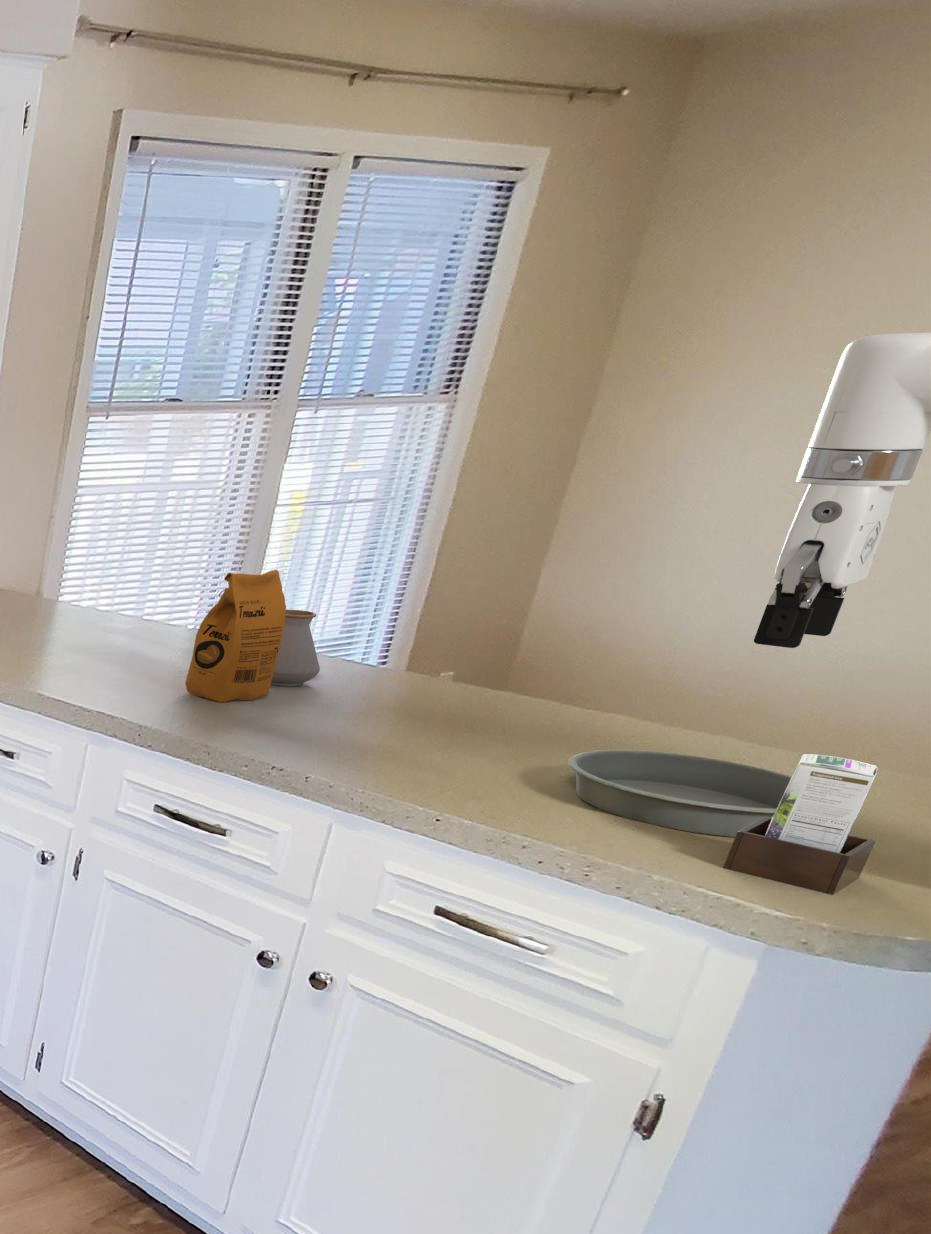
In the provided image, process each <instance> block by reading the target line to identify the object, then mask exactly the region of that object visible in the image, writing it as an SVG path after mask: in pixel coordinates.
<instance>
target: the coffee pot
mask: <svg viewBox="0 0 931 1234" xmlns="http://www.w3.org/2000/svg"><path fill="white" fill-rule="evenodd" d="M227 588H228V587H225V588H224V589H223V590H221V591H220V592H219V594H218V597H221V595H222V594H223V593H224V591H225V590H226V589H227ZM316 617H317V613H315V612H313V611H310V610H309V611H308V610H299V609H286V616H285V624H284V631H283V635H282V641H281V647H280V651H279V654H278V658H277V662H276V666H275V669H274V673H273V676H272V681H271V685H274V686H282V687H283V686H284V687H297V686H296V685H299V686H302V685H301V684H303V683H304V684H305V683H307V682H309V681H311V680H313V679H314V678H316V677H317V675H319V673H320V671H321V666H320V663H319V658H318V655H317V651H316V647H315V643H314V638H313V634H312V631H311V627H310V624H311V623H312V621H313V620H314V618H316ZM304 684H303V685H304Z"/></svg>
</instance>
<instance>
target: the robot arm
mask: <svg viewBox="0 0 931 1234" xmlns="http://www.w3.org/2000/svg"><path fill="white" fill-rule="evenodd" d="M930 434H931V332H930V331H929V332H926V331H925V332H895V333H894V332H893V333H879V334H878V333H876V334H875V333H874V334H870V335H864V336H860V337H858V338H856V339H853V340H852V341H851V342H850V343H849V344H847V346H846V347H845V349H844V350H843V352H842V354H841V356H840V358H839V361H838V363H837V366H836V369H835V372H834V375H833V377H832V380H831V383H830V385H829V388H828V391H827V394H826V397H825V400H824V402H823V405H822V408H821V410H820V413H819V416H818V419H817V421H816V424H815V427H814V430H813V433H812V435H811V438H810V441H809V444H808V448H807V449H806V452H805V454H804V457H803V459H802V463H801V464H800V465H801V466H800V468H799V471H798V473H797V477H796V479H795V483H798V484H799V483H800V484H808V486H807V488H806V491H805V493H804V495H803V497H802V500H801V502H800V503H799V506H798V509H797V511H796V513H795V516H794V519H793V521H792V523H791V525H790V528H789V530H788V534H787V535H786V539H785V541H784V544H783V547H782V549H781V552H780V555H779V558H778V561H777V564H776V567H775V571H774V575H773V579H774V580H775V581H776V582H777V583H776V584H775V588H774V591H773V592H772V593H771V595H770V597H769V600H768V603H767V604H766V606H765V608H764V611H763V614H762V617H761V620H760V623H759V625H758V626H757V627H758V628H757V630H756V633H755V635H754V638H753V642H754V643H755V644H756V645H762V646H769V647H770V646H772V647H778V648H779V647H780V648H786V649H787V648H788V649H795V648H798V647H799V646H801V643H802V641H803V638H804V636H805V635H808V636H809V635H810V636H817V637H818V636H819V637H820V636H821V637H827V636H829V635H830V634H831V633H832V631H833V628H834V627H835V624H836V622H837V618H838V616H839V613H840V611H841V608H842V606H843V603H844V600H845V597H844V596H845V594H846V592H847V590H848V586H851V585H854V584H856V583H857V584H858V583H859V582H862V581H863V580H865V579H866V578H867V577H868V576H869V574H870V571H871V570H872V569H871V568H872V566H873V563H874V561H875V558H876V557H875V556H876V554H877V550H878V548H879V545H880V541H881V539H882V536H883V533H884V531H885V527H886V523H887V520H888V518H889V514H890V512H891V508H892V505H893V500H894V496H895V494H896V493H895V492H896V487H899V486H901V487H903V486H904V487H905V486H910V485H911V481H912V479H913V476H914V473H915V471H916V468H917V466H918V464H919V461H920V458H921V456H922V453H923V451H924V450H923V449H925V446H926V444H927V441H928V439H929V437H930Z"/></svg>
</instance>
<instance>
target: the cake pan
mask: <svg viewBox="0 0 931 1234" xmlns="http://www.w3.org/2000/svg"><path fill="white" fill-rule="evenodd" d="M567 763H568V766H569V768H570V769H571V770H572V771H574V772H575V778H576V779H575V780H576V785H575V786H576V787H575V788H576V794H577V796H578V797H579V799H580V800H581V801H584V802H585V803H587V804H588V803H589V804H588V805H591V806H593V807H595V808H597V809H599V810H602V811H605V812H606V813H610V814H613V815H615V816H617V817H618V816H619V817H622V818H626V819H628V820H632V821H636V822H641V823H643V824H644V823H645V824H650V825H652V824H653V826H657V827H661V828H666V829H672V830H677V831H682V832H683V831H684V832H688V833H689V832H690V833H696V834H703V835H709V836H718V837H727V838H735V837H736V834H737V832H738V831H740V830H741V829H743V828H745V827H747V826H749V825H751V824H753V823H755V822H757V821H759V820H761V819H763V818H765V817H769V818H773V815H774V813H775V811H776V809H777V807H778V805H779V802H780V800H781V798H782V796H783V794H784V792H785V790H786V788H787V786H788V784H789V782H790V780H791V778H792V776H791V775H788V774H784V773H781V772H777V771H774V770H770V769H766V768H761V767H757V766H754V765H748V764H743V763H737V762H733V761H728V760H722V759H718V758H712V757H706V756H705V757H704V756H697V755H691V754H683V753H677V752H676V753H674V752H665V751H655V750H654V751H653V750H643V749H642V750H639V749H601V750H591V751H584V752H579V753H576V754H574V755H572V756H570V758H568V760H567Z"/></svg>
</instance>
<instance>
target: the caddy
mask: <svg viewBox="0 0 931 1234" xmlns="http://www.w3.org/2000/svg"><path fill="white" fill-rule="evenodd" d="M771 820H772V818H769V817H765V818H763V819H761V820H759V821H757V822H755V823H753V824H751V825H749V826H747V827H745V828H743V829H741V830H740V831H738V832H737V834H736V837H734V839H733V842H732V843H731V847H730V849H729V852H728V854H727V857H726V860H725V862H724V864H723V866H722V869H725V870H729V871H733V872H736V873H740V874H745V875H749V876H753V877H756V878H762V879H765V880H769V881H774V882H778V883H781V884H785V885H790V886H794V887H798V888H801V889H806V890H809V891H810V890H811V891H813V892H818V893H823V894H826V895H831V896H834V895H836V894H837V893H838V892H840V891H841V890H843V889H844V888H846V887H848V886H849V885H851V884H852V883H854V882H855V881H857V880H859V879H860V877H861V875H862V873H863V870H864V868H865V866H866V863H867V861H868V859H869V857H870V855H871V852H872V851H873V848H874V846H875V844H876V839H870V838H867V837H861V836H857V835H852V834H849V835H848V837H847V839H846V841H845V843H844V845H843V848H842V850H841V852H840V853H838V852H833V851H829V850H824V849H820V848H815V847H811V846H806V845H802V844H797V843H793V842H789V841H784V840H780V839H775V838H771V837H766V836H765V834H766V832H767V829H768V827H769V825H770V822H771Z"/></svg>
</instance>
